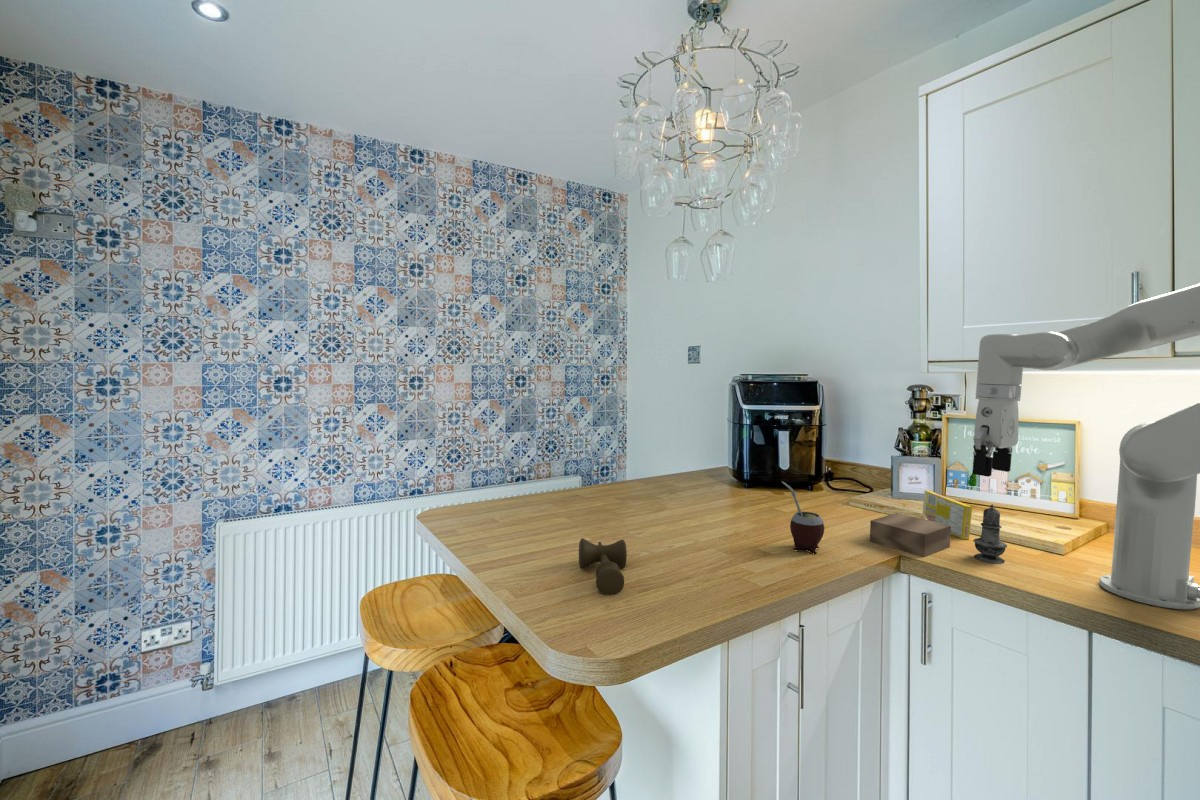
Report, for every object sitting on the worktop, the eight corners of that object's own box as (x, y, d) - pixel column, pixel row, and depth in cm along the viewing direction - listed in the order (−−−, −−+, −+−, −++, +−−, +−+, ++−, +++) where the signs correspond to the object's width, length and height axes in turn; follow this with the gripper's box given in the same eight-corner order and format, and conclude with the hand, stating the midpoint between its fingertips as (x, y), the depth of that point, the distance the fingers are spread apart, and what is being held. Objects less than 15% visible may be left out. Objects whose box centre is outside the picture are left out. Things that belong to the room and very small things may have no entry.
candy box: (971, 540, 123) (972, 506, 123) (962, 539, 123) (963, 506, 123) (929, 520, 139) (930, 489, 139) (921, 519, 139) (922, 489, 139)
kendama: (583, 600, 91) (576, 555, 111) (636, 599, 92) (620, 555, 112) (584, 567, 90) (577, 528, 110) (638, 567, 91) (622, 528, 111)
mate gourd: (830, 553, 113) (832, 486, 112) (799, 556, 111) (801, 488, 110) (808, 542, 120) (810, 479, 119) (778, 545, 118) (780, 480, 117)
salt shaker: (1012, 565, 107) (1015, 508, 106) (980, 562, 108) (983, 506, 108) (997, 555, 113) (1000, 501, 112) (967, 553, 114) (970, 499, 113)
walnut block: (949, 547, 118) (950, 525, 117) (924, 557, 111) (925, 534, 111) (896, 532, 128) (896, 512, 127) (869, 541, 121) (870, 520, 121)
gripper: (1002, 395, 101) (995, 481, 102) (1035, 393, 110) (1028, 472, 111) (959, 392, 107) (953, 473, 108) (993, 391, 116) (988, 465, 118)
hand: (991, 472), depth 110 cm, fingers open, 9 cm apart
